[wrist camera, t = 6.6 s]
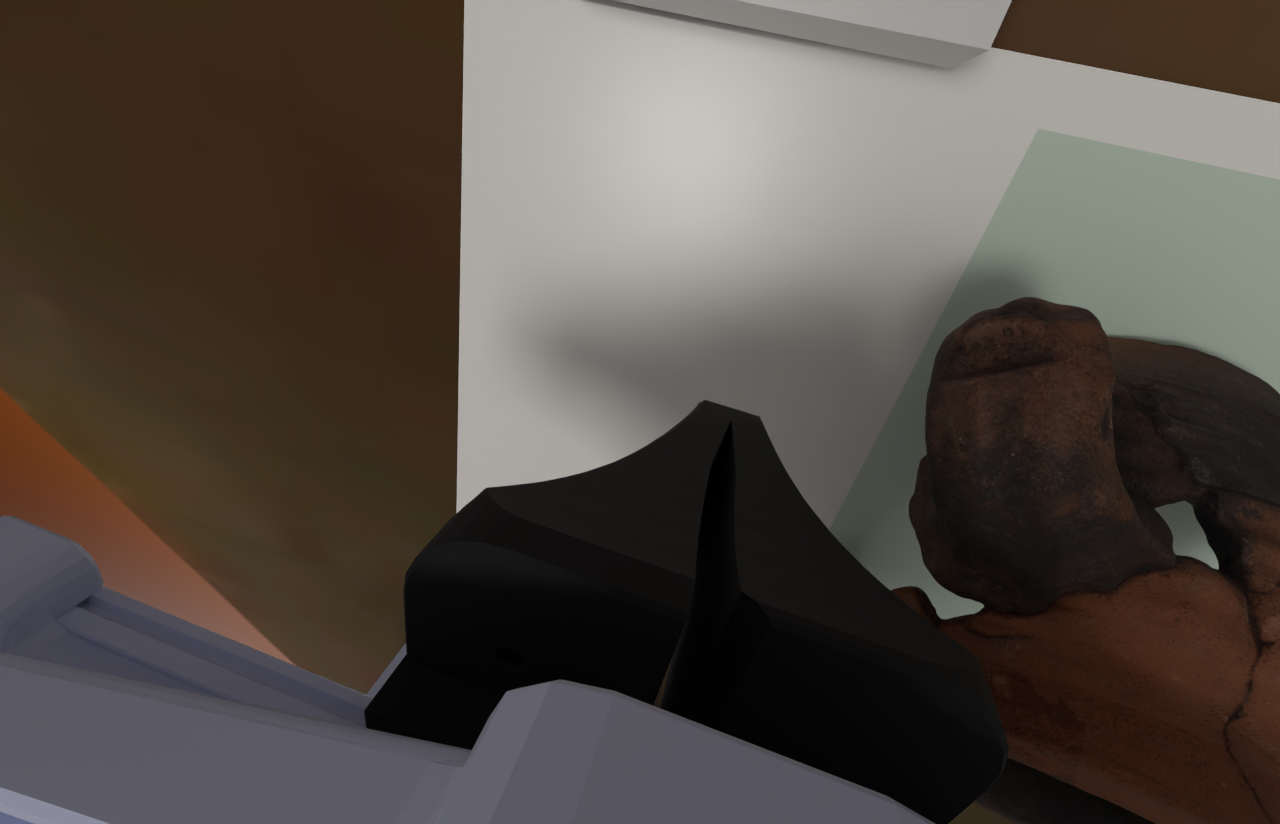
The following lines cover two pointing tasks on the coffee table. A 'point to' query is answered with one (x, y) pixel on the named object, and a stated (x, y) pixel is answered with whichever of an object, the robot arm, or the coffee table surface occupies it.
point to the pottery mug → (1108, 566)
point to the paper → (821, 243)
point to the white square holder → (856, 23)
